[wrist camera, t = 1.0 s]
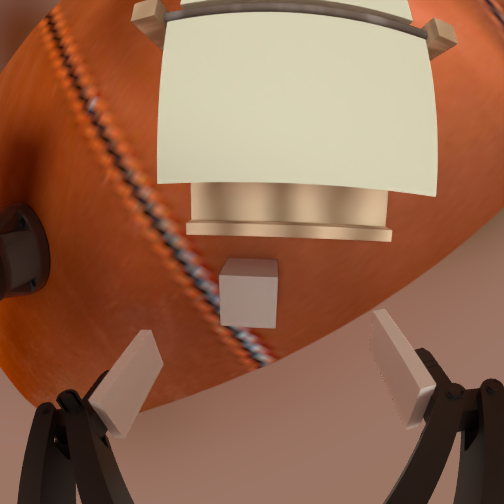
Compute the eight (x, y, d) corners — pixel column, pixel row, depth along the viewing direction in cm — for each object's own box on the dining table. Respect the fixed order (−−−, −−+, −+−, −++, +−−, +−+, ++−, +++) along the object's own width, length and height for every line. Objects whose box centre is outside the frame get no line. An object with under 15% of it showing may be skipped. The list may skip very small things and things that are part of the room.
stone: (229, 301, 32) (220, 325, 27) (228, 257, 31) (218, 275, 26) (275, 303, 32) (275, 328, 27) (277, 259, 30) (278, 277, 25)
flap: (175, 181, 20) (157, 183, 16) (192, -31, 14) (182, -51, 10) (413, 192, 19) (435, 196, 15) (389, -20, 12) (400, -37, 9)
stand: (185, 228, 30) (124, 271, 17) (194, 9, 22) (154, -57, 9) (388, 235, 29) (457, 280, 15) (381, 18, 21) (426, -40, 7)
